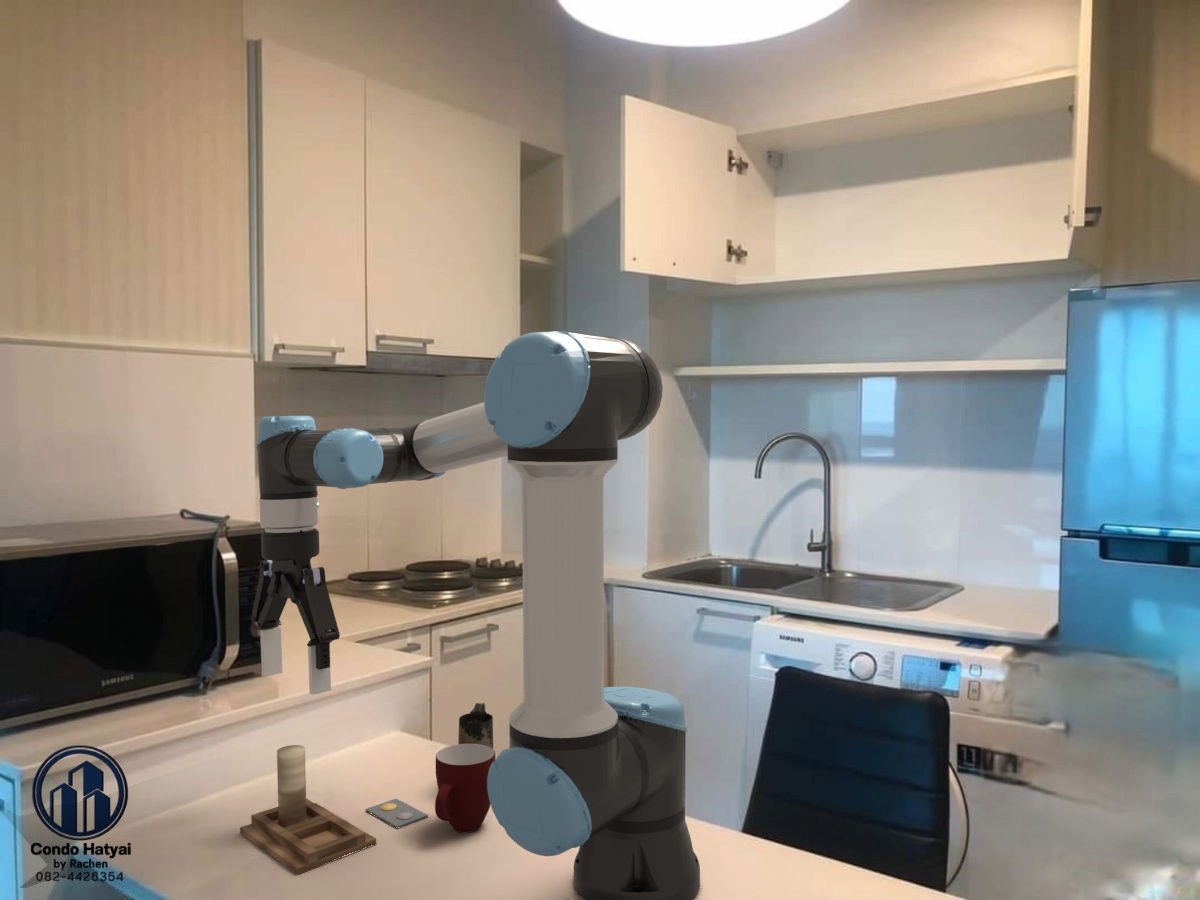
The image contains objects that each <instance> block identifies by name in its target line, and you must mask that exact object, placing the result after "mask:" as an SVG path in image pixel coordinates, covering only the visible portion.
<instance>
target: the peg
mask: <svg viewBox="0 0 1200 900" xmlns="http://www.w3.org/2000/svg"><path fill="white" fill-rule="evenodd" d="M276 761H277V762H276V767H277V768H276V769H277V770H276V771H277V772H276V773H277V774H276V775H277V807H278V822H279V826H281V827H282V828H284V827H287V826H290V825H293V824H296V823H298V822H301V821H304V820H306V798H307V785H306V784H307V783H306V782H307V781H306V778H307V777H306V775H307V774H306V748H305V746H303V745H299V744H292V745H291V744H290V745H286V746H282V747H280V748H278V749H277V750H276Z"/></svg>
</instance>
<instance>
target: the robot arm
mask: <svg viewBox="0 0 1200 900" xmlns="http://www.w3.org/2000/svg"><path fill="white" fill-rule="evenodd" d="M484 385H485V386H484V390H483V393H484V394H483V402H480V403H478V404H474V405H470V406H468V407H465V408H461V409H458V410H455V411H452V412H448V413H446V414H442V415H439V416H435V417H432V418H429V419H425V420H424V421H420V422H416V423H414V424H411V425H406V426H402V427H401V426H400V427H387V428H386V427H385V428H384V427H381V428H378V427H376V428H353V427H351V428H344V427H343V428H336V429H335V428H333V429H317V427H316V423H315V422H316V421H315V419H314V417H312V416H310V415H283V416H282V415H280V416H278V415H277V416H273V415H271V416H264V417H262V418H261V419H260V420H259V421H258V425H257V443H256V449H257V465H258V467H257V468H258V486H259V489H258V490H259V524H260V527H261V528H262V529H264V531H263V532H262V533H261V534H260V538H261V539H260V542H261V545H260V546H261V547H260V548H261V557H262V558H263V560H261V561H260V563H259V577H258V583H257V586H256V594H255V597H254V602H253V606H252V613H251V621H252V623H254V624H255V623H256V624H257V628H258V629H259V630H260V632H259V633H260V656H261V657H260V658H261V659H260V661H261V677H264V678H265V677H269V676H273V675H274V676H275V675H278V674H282V673H283V653H282V628H281V627H280V626H282V623H281V622H282V621H281V620H280V618H281V616H282V613H283V611H284V609H285V606H286V605H287V601H288V599H290V602H291V603H292V604H295V605H296V607H297V609H298V612H299V615H300V616H301V619H302V622H303V625H304V627H305V629H306V631H307V634H308V637H309V639H310V640H308V642H307V644H306V646H307V655H308V657H307V658H308V685H309V686H308V688H309V692H308V693H309V695H311V696H313V695H314V696H315V695H318V694H321V693H326V692H331V691H332V681H331V680H332V677H331V648H330V647H331V646H330V645H331V643H332V642H333V641H335V640H339V639H340V637H341V635H340V634H341V633H340V630H339V627H338V624H337V619H336V616H335V612H334V611H335V610H334V607H333V604H332V602H331V597H330V594H329V591H328V586H327V582H326V571H325V568H324V566H319V567H312V564H311V560H312V558H315V557H317V556H318V555H319V554H320V551H321V550H320V531H319V530H318V528H315V526H317V525H318V524H319V512H318V511H319V510H318V509H319V507H320V503H319V502H318V495H319V494H318V493H319V492H318V487H324V488H325V487H326V488H327V487H328V488H329V487H330V488H337V489H341V490H346V489H356V488H362V487H367V486H368V485H375V484H386V483H394V482H408V481H417V482H418V481H419V482H420V481H428V480H431V479H435V478H439V477H441V476H443V475H445V473H446V472H448V471H453V470H456V469H460V468H464V467H468V466H471V465H472V466H473V465H476V464H479V463H483V462H488V461H491V460H495V459H499V458H502V457H507V464H509V465H510V467H512V468H513V469H514V470H515V472H516V473H517V474H518V475H519V476H520V478H521V483H522V484H521V486H522V487H521V492H522V493H521V497H522V499H521V501H522V503H521V504H522V505H521V508H522V510H521V512H522V514H521V515H522V516H521V518H522V521H521V522H522V528H521V529H522V632H523V633H522V641H523V642H522V644H523V645H522V647H523V648H522V655H523V657H522V661H523V665H522V666H523V676H522V677H523V680H522V681H523V682H522V683H523V685H522V686H523V700H522V702H521V703H520V704H519V705H517V707H516V708H515V709H513V711H512V712H511V713H510V714H509V721H508V722H509V748H506V749H503V750H502V751H501V752H500V753H499V754H498V756H496V758H495V759H496V760H495V761H494V762H493V763H492V764H491V766H490V769H489V772H488V778H487V790H488V796H489V801H490V808H491V809H492V812H493V814H494V816H495V818H496V820H497V822H498V824H499V825H500V826H501V827H502V828H503V829H504V831H505V833H506V834H507V836H508V837H509V838H510V839H511V840H512V841H513V842H514V843H515V844H517V846H519V847H520V848H521V849H523V850H525V851H527V852H530V853H531V854H534V855H538V856H542V857H554V856H558V855H561V854H564V853H565V852H568V851H569V850H571V849H575V848H576V849H577V848H578V852H577V853H576V856H575V858H574V861H573V888H574V891H576V893H577V894H578V895H577V896H579V897H580V898H581V900H693V899H694V898H696V896H697V895H698V893H699V891H700V887H701V868H700V866H701V865H700V861H699V859H698V858H699V857H698V856H697V855H696V853H695V851H694V848H693V843H692V838H691V834H690V831H689V827H688V823H687V822H686V747H687V746H686V745H687V744H686V743H687V742H686V741H687V740H686V737H687V736H686V735H687V731H688V728H687V727H686V720H685V719H686V718H685V717H686V716H685V708H684V705H683V703H682V702H681V700H679V698H677V697H676V696H674V695H672V694H670V693H667V692H664V691H661V690H657V689H651V688H644V687H636V686H635V687H634V686H607V687H605V677H604V676H605V671H604V670H605V667H604V666H605V665H604V664H605V663H604V662H605V655H604V650H605V649H604V648H605V647H604V646H605V643H604V642H605V641H604V639H605V638H604V637H605V636H604V635H605V632H604V631H605V629H604V626H605V625H604V624H605V623H604V621H605V619H604V618H605V617H604V616H605V614H604V613H605V612H604V610H605V609H604V608H605V607H604V606H605V605H604V604H605V602H604V601H605V599H604V597H605V596H604V594H605V593H604V589H605V587H604V583H605V582H604V580H605V578H604V577H605V576H604V573H605V570H604V569H605V568H604V567H605V566H604V564H605V563H604V550H605V549H604V478H605V476H606V475H607V473H608V472H609V471H610V470H611V469H612V468H613V467H615V465H616V464H617V463H618V457H619V456H618V451H619V450H618V449H619V448H618V445H619V444H618V441H621V440H625V439H628V438H632V437H634V436H636V435H638V434H639V433H641V432H642V431H644V430H645V429H646V428H647V427H649V425H650V424H651V423H652V421H653V420H654V419H655V417H657V414H658V411H659V409H660V408H661V404H662V403H661V402H662V399H663V392H664V391H663V387H664V386H663V380H662V375H661V373H660V369H659V368H658V366H657V363H656V362H655V360H654V359H653V358H652V356H651V355H650V354H649V353H648V352H647V351H646V350H645V349H643V347H641V346H640V345H638V344H636V343H635V342H632V341H629V340H627V339H624V338H620V337H619V338H618V337H614V336H613V337H611V336H606V337H605V336H598V335H591V334H583V333H576V332H569V331H557V330H553V331H537V332H535V331H534V332H530V333H526V334H523V335H520V336H518V337H516V338H514V339H513V340H512V341H510V342H509V343H508V344H507V345H505V346H504V348H503V350H502V351H501V353H500V354H499V355H496V357H495V359H494V361H493V363H492V364H491V366H490V368H489V371H488V373H487V376H486V379H485V384H484Z"/></svg>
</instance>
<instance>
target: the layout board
mask: <svg viewBox="0 0 1200 900" xmlns="http://www.w3.org/2000/svg"><path fill="white" fill-rule="evenodd" d="M250 819H251V820H250V821H251V822H250V824H246V825H244V826H243V825H242V826H241V827H239V830H240V831H239V834H240V835H242V836H243V837H245V838H246V839H247V840H249V841H250V842H251V843H253V844H255V845H256V846H257V847H259V848H260V849H262V850H263V851H264V852H265V853H267V854H268V855H269V856H271V857H272V858H274V859H275V860H277V861H278V862H280V863H281V864H282V865H283V866H285V867H286V866H287V867H286V868H288V869H289V868H290V869H291V871H292V872H293V871H294V872H293V873H295V874H296V873H297V874H298V875H300V873H301V874H303V873H306V872H308V871H311V870H314V869H316V868H318V867H321V865H322V866H324V865H326V864H325V863H327V864H329V863H328V862H330V861H332V860H334V859H337V858H339V857H342V856H344V855H347V854H349V853H352V852H355V851H358V850H361V849H363V848H365V847H368V846H371V845H374V846H376V845H377V838H375V837H374V836H373V835H371V834H369V833H367V832H366V831H365V830H362V829H361V828H359V827H357V826H356V825H354V824H352V823H351V822H349V821H347V820H345V819H344V818H342V817H340V816H338V815H337V814H335V813H334V812H332V811H330V810H329V809H327V808H325V807H324V806H322V805H320V804H318V803H317V802H313V801H311V800H310V799H308V798H307V797H306V820H304V821H301V822H298V823H296V824H293V825H290V826H287V827H284V828H282V827H281V826H279V822H278V806H275V807H273V808H269V809H267V810H263V811H259V812H257V813H253V814H251V816H250ZM375 844H376V845H375ZM371 847H372V846H371ZM361 851H362V850H361ZM358 852H359V851H358ZM337 860H338V859H337ZM332 862H333V861H332ZM330 863H331V862H330ZM323 864H324V865H323ZM290 869H289V870H290ZM297 874H296V875H297Z"/></svg>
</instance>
